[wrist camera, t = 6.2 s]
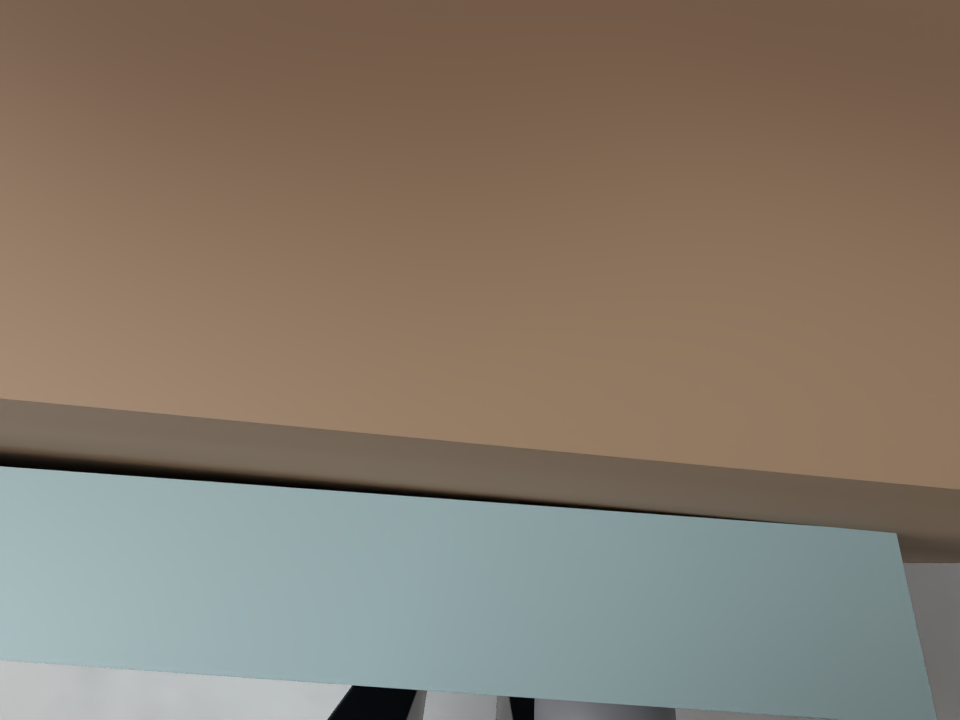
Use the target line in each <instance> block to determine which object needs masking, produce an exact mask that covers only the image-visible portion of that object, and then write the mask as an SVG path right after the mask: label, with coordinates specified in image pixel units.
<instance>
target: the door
mask: <svg viewBox="0 0 960 720" xmlns="http://www.w3.org/2000/svg"><path fill="white" fill-rule="evenodd" d="M0 660H3V661H17V662H31V663H45V664H59V665H73V666H88V667H102V668H116V669H130V670H144V671H158V672H172V673H186V674H201V675H215V676H229V677H243V678H257V679H271V680H285V681H299V682H314V683H328V684H342V685H356V686H370V687H384V688H398V689H412V690H426V691H441V692H455V693H469V694H483V695H497V696H511V697H525V698H535V701H534V720H676V715H675V708H681V709H695V710H709V711H723V712H737V713H751V714H765V715H780V716H794V717H808V718H822V719H836V720H937V716H936V711H935V707H934V702H933V698H932V693H931V689H930V684H929V680H928V675H927V671H926V666H925V661H924V657H923V652H922V648H921V643H920V639H919V634H918V630H917V625H916V621H915V616H914V611H913V607H912V602H911V598H910V593H909V589H908V584H907V580H906V575H905V570H904V566H903V561H902V557H901V552H900V548H899V543H898V539H897V534H896V533H888V532H877V531H867V530H856V529H846V528H835V527H823V526H809V525H795V524H782V523H768V522H754V521H741V520H727V519H713V518H700V517H686V516H672V515H659V514H645V513H631V512H618V511H604V510H590V509H577V508H563V507H549V506H536V505H522V504H508V503H495V502H481V501H467V500H454V499H440V498H426V497H413V496H399V495H385V494H372V493H358V492H344V491H330V490H317V489H303V488H289V487H276V486H262V485H248V484H235V483H221V482H207V481H194V480H180V479H166V478H153V477H139V476H125V475H112V474H98V473H84V472H71V471H57V470H43V469H30V468H16V467H2V466H0Z"/></svg>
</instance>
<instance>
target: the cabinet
mask: <svg viewBox="0 0 960 720" xmlns="http://www.w3.org/2000/svg"><path fill="white" fill-rule="evenodd" d="M0 466H2V467H16V468H30V469H43V470H57V471H71V472H84V473H98V474H112V475H125V476H139V477H153V478H166V479H180V480H194V481H207V482H221V483H235V484H248V485H262V486H276V487H289V488H303V489H317V490H330V491H344V492H358V493H372V494H385V495H399V496H413V497H426V498H440V499H454V500H467V501H481V502H495V503H508V504H522V505H536V506H549V507H563V508H577V509H590V510H604V511H618V512H631V513H645V514H659V515H672V516H686V517H700V518H713V519H727V520H741V521H754V522H768V523H782V524H795V525H809V526H823V527H835V528H846V529H856V530H867V531H877V532H888V533H896V534H897V539H898V543H899V548H900V552H901V557H902V561H903V563H960V0H0Z"/></svg>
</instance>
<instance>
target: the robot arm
mask: <svg viewBox="0 0 960 720" xmlns="http://www.w3.org/2000/svg"><path fill="white" fill-rule="evenodd" d="M426 693H427V691H426V690H412V689H398V688H384V687H370V686H356V685H352V687H351V688H350V689H349V691H348V692H347V693H346V695H345V696H344V698H343V699H342V700H341V702H340V703H339V704H338V706H337V707H336V708H335V710H334V711H333V713H332V714H331V715H330V717H329V718H328V719H327V720H423V714H424V707H425V700H426ZM534 701H535V698H525V697H511V696H497V710H496V720H534Z"/></svg>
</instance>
